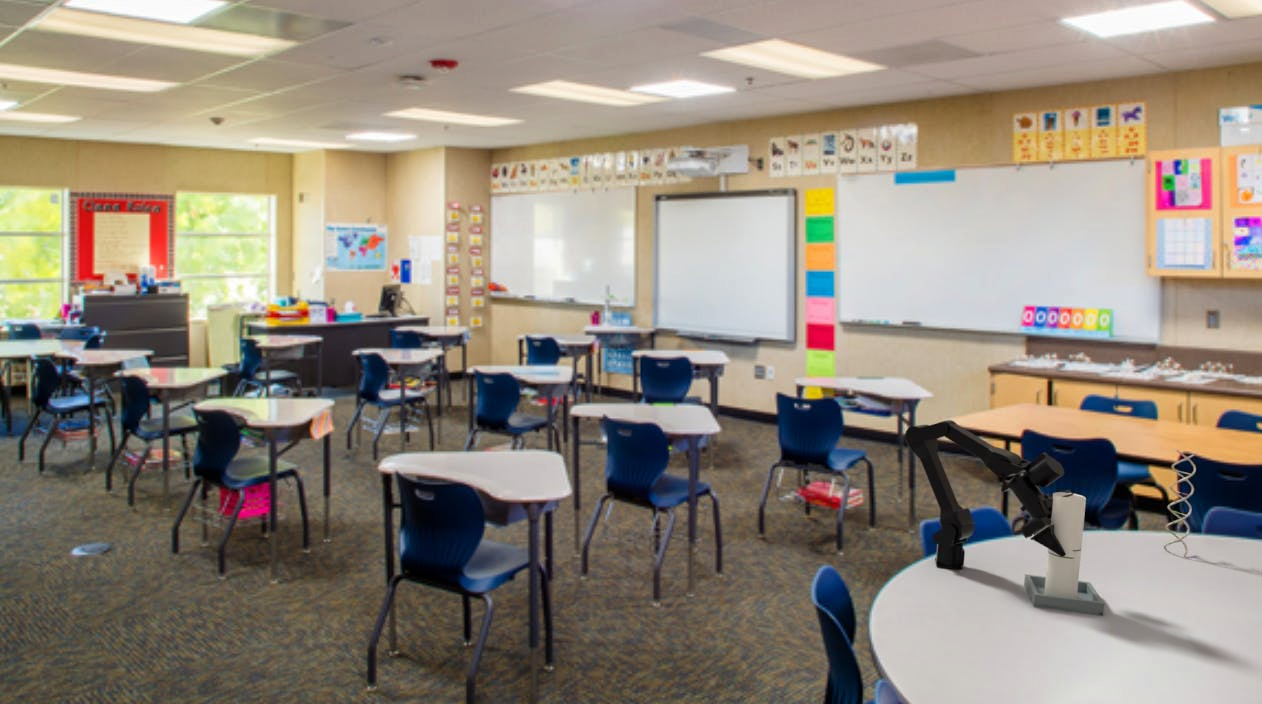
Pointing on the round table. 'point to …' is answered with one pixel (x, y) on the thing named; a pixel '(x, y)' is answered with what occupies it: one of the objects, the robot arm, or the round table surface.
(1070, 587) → the cylindrical container
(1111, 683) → the round table surface
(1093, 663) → the round table surface
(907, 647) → the round table surface
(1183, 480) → the dna model
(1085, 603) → the tray
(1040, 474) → the robot arm
